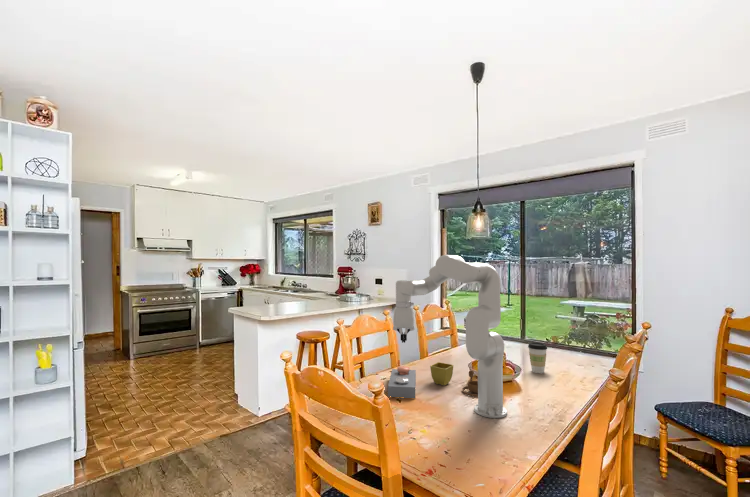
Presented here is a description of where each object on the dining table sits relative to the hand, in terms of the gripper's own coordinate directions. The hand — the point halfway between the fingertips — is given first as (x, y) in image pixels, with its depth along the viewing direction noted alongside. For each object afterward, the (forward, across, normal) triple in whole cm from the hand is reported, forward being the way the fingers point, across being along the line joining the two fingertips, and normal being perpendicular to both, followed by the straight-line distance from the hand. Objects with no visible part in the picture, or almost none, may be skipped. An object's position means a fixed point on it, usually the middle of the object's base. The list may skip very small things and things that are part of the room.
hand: (403, 342), depth 176 cm
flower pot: (+21, -19, -2) cm, 28 cm away
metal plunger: (+20, 0, +14) cm, 24 cm away
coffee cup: (+21, -73, -29) cm, 81 cm away
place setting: (+22, -35, +5) cm, 41 cm away
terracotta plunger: (+19, 0, 0) cm, 19 cm away
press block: (+20, 0, +7) cm, 21 cm away
